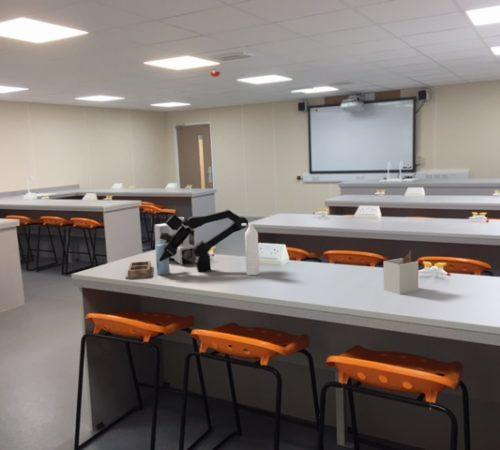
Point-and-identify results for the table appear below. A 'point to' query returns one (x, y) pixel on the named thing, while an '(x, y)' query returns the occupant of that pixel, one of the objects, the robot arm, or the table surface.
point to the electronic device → (184, 249)
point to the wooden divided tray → (139, 270)
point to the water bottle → (251, 250)
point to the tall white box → (400, 275)
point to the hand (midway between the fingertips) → (159, 259)
